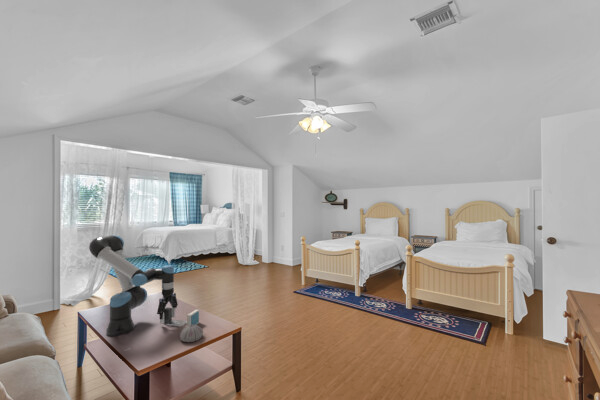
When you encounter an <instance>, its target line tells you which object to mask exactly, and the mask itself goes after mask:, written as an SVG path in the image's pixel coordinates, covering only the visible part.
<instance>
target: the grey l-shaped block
mask: <svg viewBox="0 0 600 400" xmlns="http://www.w3.org/2000/svg"><path fill="white" fill-rule="evenodd" d="M172 308H173V307H165V310H164V313H163V314H164V324H165V325H166V326H169V327H170V326H171V327H179V328H182V327H183V326H185V325H187V320H180V319H173V317H172ZM164 324H163V325H164Z"/></svg>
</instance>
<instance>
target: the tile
mask: <svg viewBox="0 0 600 400" xmlns="http://www.w3.org/2000/svg"><path fill="white" fill-rule="evenodd" d="M186 321H187V323H186V327H187V326H189V325H192V324H194V325H198V324H199V323H200V309H194V310H193V311H192V312H189V313H188V314H186Z"/></svg>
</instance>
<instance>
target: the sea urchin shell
mask: <svg viewBox="0 0 600 400" xmlns="http://www.w3.org/2000/svg"><path fill="white" fill-rule="evenodd" d="M203 333H204V331H203V329H202V328H201V326H199V325H198V324H197V325H194V324H192V325H189V326H187V325H186V326H185V327H184V328H182V329H181V331H180V333H179V339H180V341H181V342H183V343H194V342H197V341H198V340H200V339H202V337H203Z"/></svg>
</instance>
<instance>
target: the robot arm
mask: <svg viewBox="0 0 600 400" xmlns="http://www.w3.org/2000/svg"><path fill="white" fill-rule="evenodd" d="M124 245H125V242H124V239H123V238H122V237H120V236H118V235H107V236H99V237H95V238H94V239H92V240H91V242H90V243H89V247H88V249H89V252H90V253H91V254H92V256H93V257H94V258H96V259H98V260H102V261H104V262H105V263H107V264H109V265H110V266H111V267H112V269H113V272H114V274H115V276H116V278H117V280H118V282H119V285H120V287H121V289H122V290H121V292H119V293H115V294H114V295H112V296H111V297H110V299H109V322H108V324H107V328H106V332H105V333H106V335H107V336H108V337H109V336H110V337H115V336H122V335H125V334H128V333H131V332H132V331H133V330H134V329H135V324H134V321H133V318H132V310H134V309H135V308H137V307H140V306H141V305H143V304H144V303H145V302H146V301H147V298H148V292H147V290H146V289H145V288H143V287H141V286H144V285H146V284H148V283H151V282H152V281H156V280H159V281H161V295H162V298H159V299H158V300H159V301H158V302H159V303H158V307H157V312H156V314H157V315H159V324H160V325H164V310H165V308H167V305H168V303H169V304H170V306H171V308H172V318H175V317H176V309H177V307H178V305H179V303H178V299H177V293H176V292H175V289H174V287H175V286H174V285H175V284H174V282H175V281H174V280H175V278H174V277H175V270H174V269H175V268H174V267H175V266H173V264H172V265H171V264H168V265H167V264H166V265H163V266H162V267H161V268H146V269H145V271H143V270H142V269H140V268H139V267H137V266H135V265H134V264H133V263H131V262H130V261H129V260H127V259H126V258H125V257H124V255H123V252H124Z"/></svg>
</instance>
